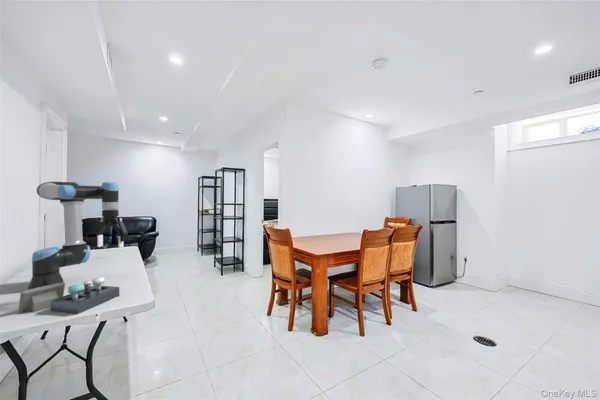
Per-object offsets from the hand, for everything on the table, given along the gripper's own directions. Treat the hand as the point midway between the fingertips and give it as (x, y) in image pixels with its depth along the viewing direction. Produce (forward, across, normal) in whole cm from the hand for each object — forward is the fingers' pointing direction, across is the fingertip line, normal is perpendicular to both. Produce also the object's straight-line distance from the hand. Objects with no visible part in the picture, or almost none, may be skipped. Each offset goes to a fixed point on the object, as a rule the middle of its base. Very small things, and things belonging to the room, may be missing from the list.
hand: (110, 246), depth 143 cm
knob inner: (+23, 0, -7) cm, 24 cm away
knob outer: (+23, -1, -19) cm, 30 cm away
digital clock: (+27, -18, -20) cm, 38 cm away
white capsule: (+22, 0, -13) cm, 25 cm away
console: (+27, 0, -13) cm, 30 cm away
